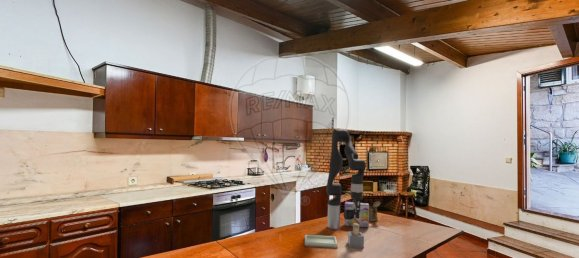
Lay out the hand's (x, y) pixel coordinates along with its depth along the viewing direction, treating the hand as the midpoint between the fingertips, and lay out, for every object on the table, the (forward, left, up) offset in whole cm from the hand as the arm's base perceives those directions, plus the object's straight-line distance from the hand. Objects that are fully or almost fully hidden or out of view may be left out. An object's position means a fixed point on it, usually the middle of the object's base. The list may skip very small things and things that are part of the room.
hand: (356, 216), depth 187 cm
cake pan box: (-43, +7, -18) cm, 47 cm away
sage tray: (0, -22, -18) cm, 28 cm away
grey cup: (0, 0, -18) cm, 18 cm away
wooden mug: (-60, +24, -18) cm, 67 cm away
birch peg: (0, 0, -18) cm, 18 cm away
